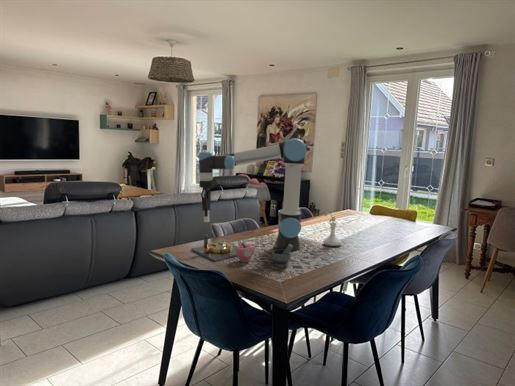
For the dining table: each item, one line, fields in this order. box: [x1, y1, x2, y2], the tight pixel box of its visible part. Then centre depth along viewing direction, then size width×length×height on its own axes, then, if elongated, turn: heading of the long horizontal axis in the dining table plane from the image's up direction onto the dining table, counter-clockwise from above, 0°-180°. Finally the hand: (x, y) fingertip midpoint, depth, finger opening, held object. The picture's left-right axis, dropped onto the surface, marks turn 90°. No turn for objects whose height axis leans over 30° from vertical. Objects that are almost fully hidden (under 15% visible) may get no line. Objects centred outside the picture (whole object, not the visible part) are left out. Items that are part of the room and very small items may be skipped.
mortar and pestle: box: [271, 244, 293, 268], centre depth 197 cm, size 11×9×12 cm
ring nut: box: [203, 233, 234, 253], centre depth 216 cm, size 16×13×10 cm
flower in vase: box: [322, 205, 342, 247], centre depth 236 cm, size 13×11×25 cm
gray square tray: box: [190, 241, 239, 262], centre depth 217 cm, size 24×24×5 cm
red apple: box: [236, 242, 255, 263], centre depth 202 cm, size 10×9×10 cm
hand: (206, 221), depth 216 cm, fingers closed
